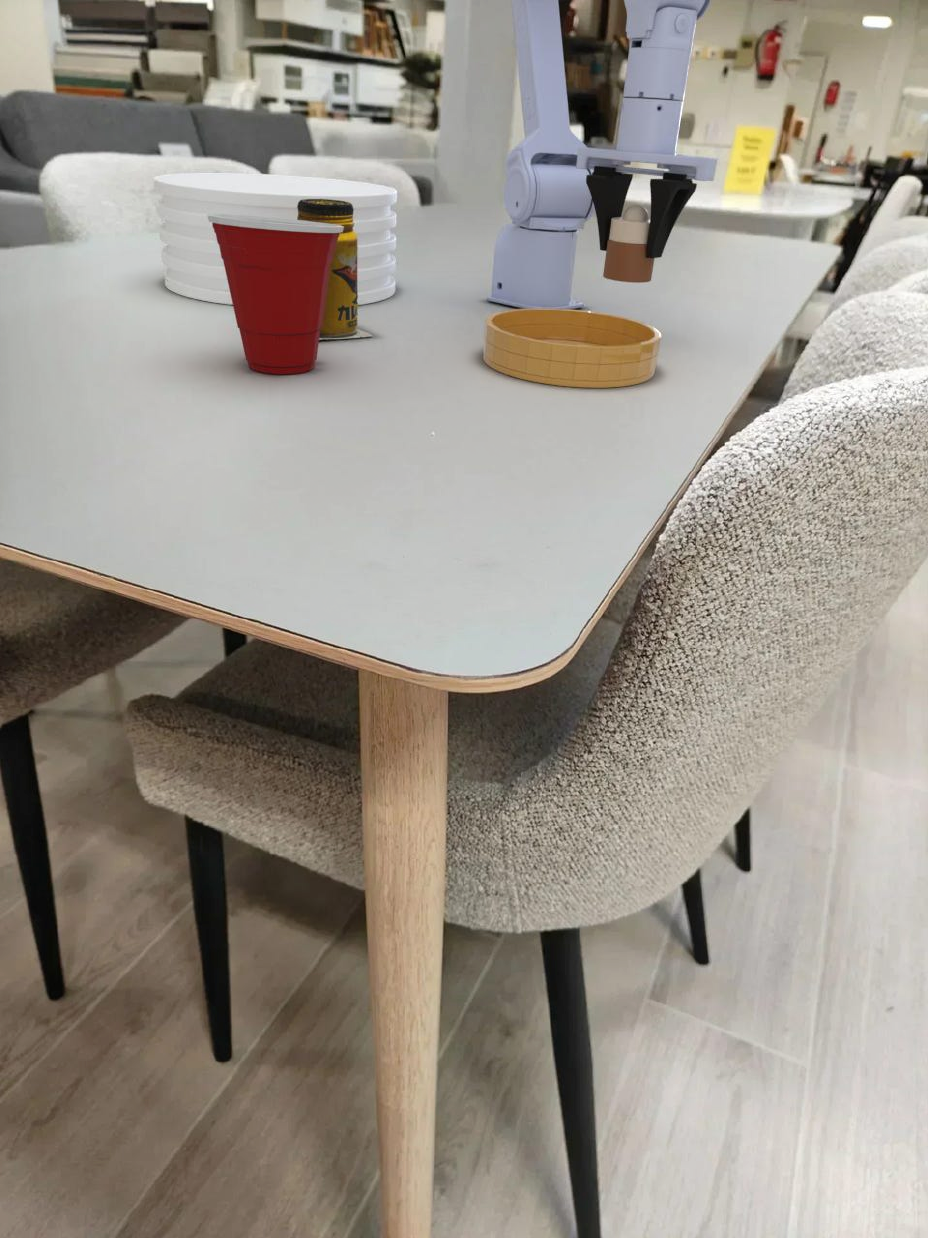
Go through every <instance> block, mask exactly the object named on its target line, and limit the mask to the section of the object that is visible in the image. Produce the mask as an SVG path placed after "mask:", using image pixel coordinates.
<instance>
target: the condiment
mask: <svg viewBox="0 0 928 1238" xmlns="http://www.w3.org/2000/svg"><path fill="white" fill-rule="evenodd" d="M297 208H298V218H297V220H304V221H312V222H321V223H328V224H335V225H341V226H343V227H344V229H343V232H341V233H339V237H338V241H337V242H336V248H335V251H334V253H333V260H332V264H331V266H330V273H329V280H328V287H327V294H326V301H325V308H324V315H323V322H322V328H321V329H320V336H319V341H320V340H321V341H322V340H344V339H345V340H346V339H357V338H369V337H372V336H373V334H371V333H369V332H367V331H364V330H362V329H360V328H357V326H358V315H359V314H358V309H359V305H358V302H357V299H358V293H357V291H358V290H357V250H358V246H357V236H356V233H355V232H354V231H353V226H354V222H353V211H354V209H353V206H352V204H351V203H349V202H345V201H340V200H329V199H303V200H300V201H299V202H298V206H297Z"/></svg>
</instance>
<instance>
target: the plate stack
mask: <svg viewBox="0 0 928 1238" xmlns="http://www.w3.org/2000/svg"><path fill="white" fill-rule="evenodd" d="M153 187H154V191H155V192H156V193H158V194H161V196H162V199H159V200H157V201H156V202H155V204H156V213H157V216H158V217H159V218H161V219H163V220H164V222H162V223H161V224H159V225H158V232H159V240H160V241H161V242H162V243H164V244H166V245H165V246H164V247H162V248H161V262H162V264H163V265H164V266H166V267H167V269H165V270H164V271H163V278H164V286H165V287H166V289H168V290H169V291H171V292H172V293H175V294H177V295H180V296H183V297H186V298H190V299H194V300H198V301H203V302H209V303H215V304H220V305H221V304H222V305H228V306H233V303H232V298H231V294H230V289H229V285H228V280H227V276H226V271H225V266H224V262H223V259H222V257H221V252H220V247H219V244H218V243H217V237H216V233H215V232H214V228H213V226H212V222H209V220H208V216H207V214H228V215H246V216H260V217H272V218H284V219H294V220H297V218H298V208H297V206H298V202H299V201H300V200H303V199H329V200H340V201H345V202H349V203H351V204H352V206H353V209H354V211H353V222H354V226H353V231H354V232H355V233H356V236H357V246H358V250H357V290H358V291H357V293H358V299H357V302H358V306H363V305H369V304H373V303H378V302H382V301H384V300H387V299H390V298H391V297H392V296H394V294H395V293H396V279H395V278H394V276H392V275H393V274H394V273H395V272H396V268H397V267H396V266H397V265H396V264H397V258H396V257H395V256H394V255H393V254H391V253H392V252H395V250H396V249H397V236H396V234H394V233H392V232H391V230H392V229H394V228H396V227H397V221H398V220H397V216H398V215H397V213H396V212H395V211H394V210H391V206H394V205H396V204H397V203H398V190H397V189H396V188H395V187H391V186H387V185H382V184H377V183H371V182H365V181H359V180H358V181H357V180H348V179H340V178H339V179H338V178H328V177H317V176H304V175H303V176H302V175H289V174H274V173H273V174H271V173H270V174H269V173H248V172H247V173H245V172H180V173H165V174H159V175H155V176H154V177H153ZM164 276H165V277H164ZM165 278H166V279H167V280H168V281H167V280H166V279H165ZM169 281H170V282H169Z"/></svg>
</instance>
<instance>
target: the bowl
mask: <svg viewBox="0 0 928 1238" xmlns="http://www.w3.org/2000/svg"><path fill="white" fill-rule="evenodd" d="M483 331H484V332H483V345H482V350H483V356H482V357H483V362H484V363H485V364H486V365H487V366H488V367H489V368H491V369H493V370H495V371H496V372H499V373H501V374H504V375H507V376H509V377H513V378H516V379H520V380H523V381H528V382H529V381H530V382H534V383H538V384H544V385H550V386H551V385H552V386H558V387H568V388H569V387H570V388H583V389H584V388H586V389H588V388H589V389H609V388H622V387H627V386H628V387H629V386H634V385H635V386H636V385H639V384H643V383H644V382H647V381H649V380H650V379H652V378H653V377H654V375H655V372H656V368H657V363H658V355H659V350H660V346H661V345H660V344H661V339H662V334H661V332H660V331H659V330H658V329H657V328H655V327H654V326H652V325H650V324H648V323H645V322H642V321H639V320H636V319H632V318H629V317H624V316H620V315H615V314H611V313H610V314H609V313H605V312H598V311H597V312H596V311H592V310H591V311H589V310H581V309H554V308H526V309H523V308H514V309H508V310H501V311H497V312H494V313H492V314H489V315H488V316H487V317H486V318H485V320H484V330H483Z"/></svg>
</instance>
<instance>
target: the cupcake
mask: <svg viewBox="0 0 928 1238" xmlns="http://www.w3.org/2000/svg"><path fill="white" fill-rule="evenodd" d="M649 217H650V215H649V211H648V209H646V208H645V206H644V205H641V204H632V205H630V206H628V207H627V208H626V209H625V210H624V212H623V214H622V216H621V217H614V218H612V219H611V227H610V235H609V239H608V242H607V250H606V251H605V259H604V265H603V273H602V278H604V279H607V280H611V281H614V282H615V281H616V282H623V283H635V284H636V283H637V284H638V283H649V282H651V281H652V277H653V271H654V266H655V265H654V264H655V259H656V258H646V246H647V239H648V233H649V226H650V218H649Z"/></svg>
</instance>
